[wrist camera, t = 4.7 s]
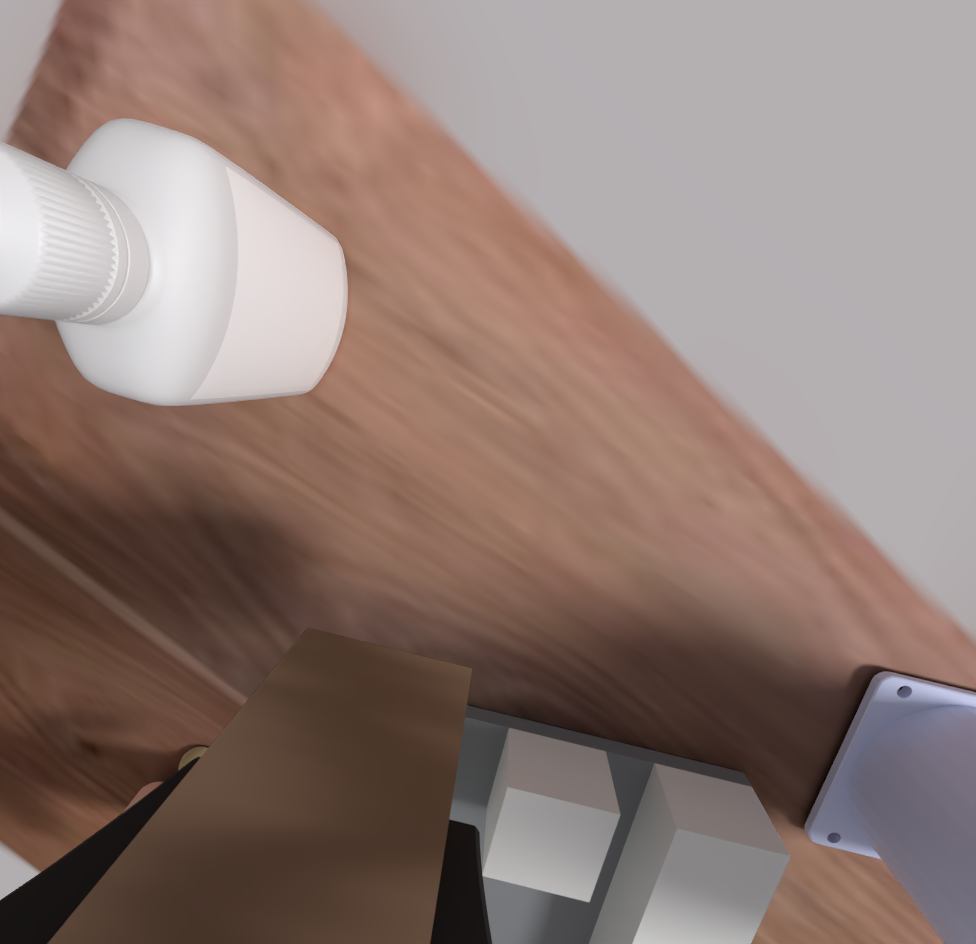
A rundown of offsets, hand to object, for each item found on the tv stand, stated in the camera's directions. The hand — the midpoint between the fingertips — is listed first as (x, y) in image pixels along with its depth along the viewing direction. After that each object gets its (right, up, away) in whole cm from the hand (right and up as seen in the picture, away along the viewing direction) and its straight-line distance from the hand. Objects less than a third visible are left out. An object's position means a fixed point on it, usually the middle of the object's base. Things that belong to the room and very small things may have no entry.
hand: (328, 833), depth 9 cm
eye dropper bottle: (-4, +12, +8) cm, 15 cm away
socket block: (+4, -12, +13) cm, 18 cm away
